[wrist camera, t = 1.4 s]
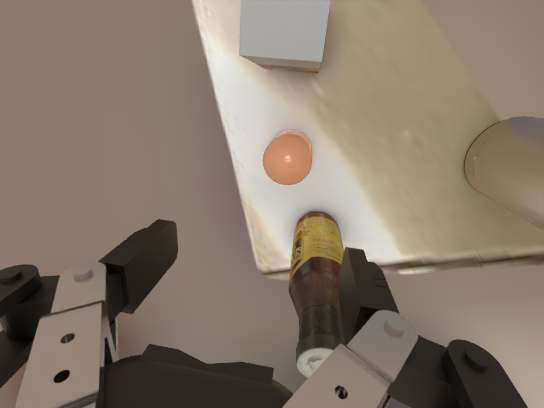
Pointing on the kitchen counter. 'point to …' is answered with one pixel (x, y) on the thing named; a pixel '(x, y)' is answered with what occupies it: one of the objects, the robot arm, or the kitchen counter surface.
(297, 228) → the sauce bottle
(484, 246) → the kitchen counter surface
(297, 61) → the slate block
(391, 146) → the kitchen counter surface
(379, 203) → the kitchen counter surface
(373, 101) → the kitchen counter surface
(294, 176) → the clay cylinder
